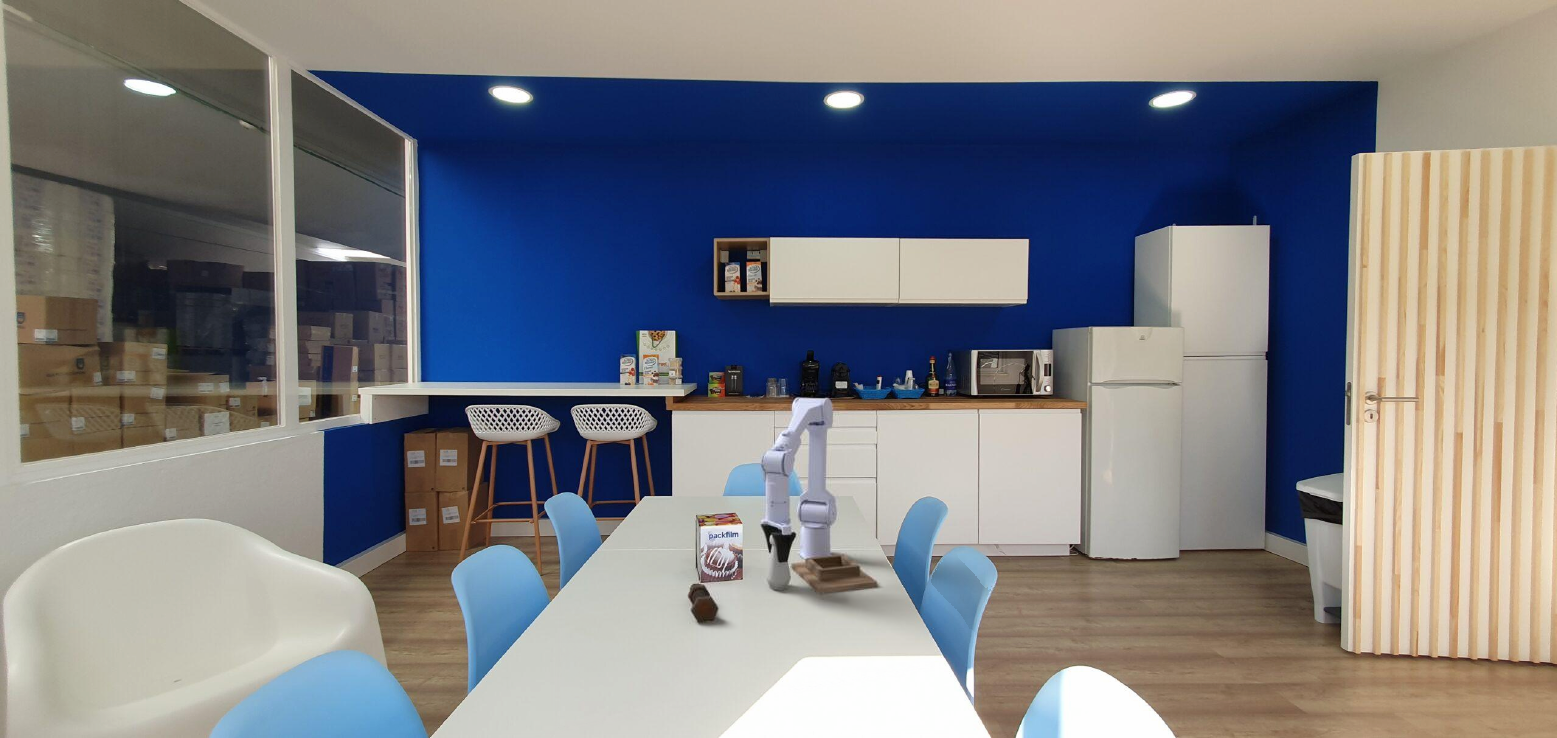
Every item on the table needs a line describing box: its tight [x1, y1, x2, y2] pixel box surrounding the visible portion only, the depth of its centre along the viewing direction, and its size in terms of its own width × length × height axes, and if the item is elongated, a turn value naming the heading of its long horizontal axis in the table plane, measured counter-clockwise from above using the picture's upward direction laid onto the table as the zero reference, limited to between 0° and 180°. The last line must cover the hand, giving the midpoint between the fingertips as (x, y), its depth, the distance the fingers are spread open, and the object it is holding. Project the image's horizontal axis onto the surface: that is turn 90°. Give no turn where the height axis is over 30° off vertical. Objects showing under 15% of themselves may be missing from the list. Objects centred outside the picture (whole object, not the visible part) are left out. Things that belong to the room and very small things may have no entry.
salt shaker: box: [765, 535, 792, 591], centre depth 164 cm, size 6×6×13 cm
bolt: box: [687, 583, 719, 623], centre depth 152 cm, size 6×5×15 cm
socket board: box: [790, 554, 878, 595], centre depth 172 cm, size 20×15×4 cm
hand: (778, 557), depth 164 cm, fingers open, 7 cm apart
